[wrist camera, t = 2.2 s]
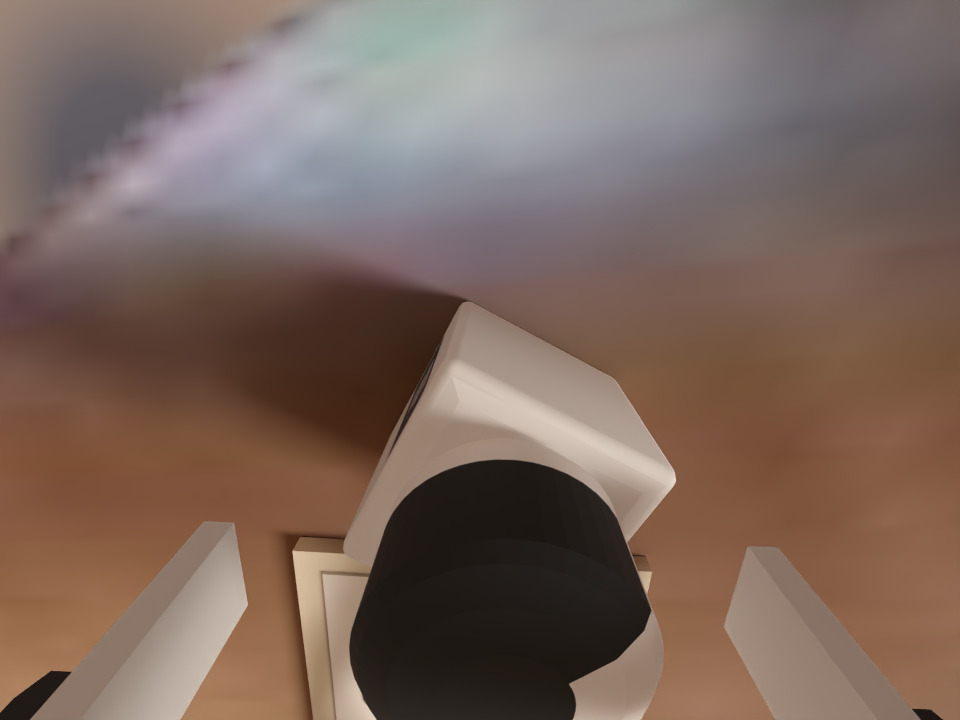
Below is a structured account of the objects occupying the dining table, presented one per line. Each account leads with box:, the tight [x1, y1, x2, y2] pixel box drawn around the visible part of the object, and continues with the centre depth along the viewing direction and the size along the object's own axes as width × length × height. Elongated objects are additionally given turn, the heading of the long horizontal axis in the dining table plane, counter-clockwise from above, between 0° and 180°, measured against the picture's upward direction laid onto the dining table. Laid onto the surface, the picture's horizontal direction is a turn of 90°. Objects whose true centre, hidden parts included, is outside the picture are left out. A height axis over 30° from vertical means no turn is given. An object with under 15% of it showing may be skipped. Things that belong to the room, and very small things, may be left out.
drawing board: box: [292, 537, 652, 720], centre depth 26 cm, size 18×16×1 cm
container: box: [343, 301, 676, 720], centre depth 15 cm, size 8×8×13 cm
